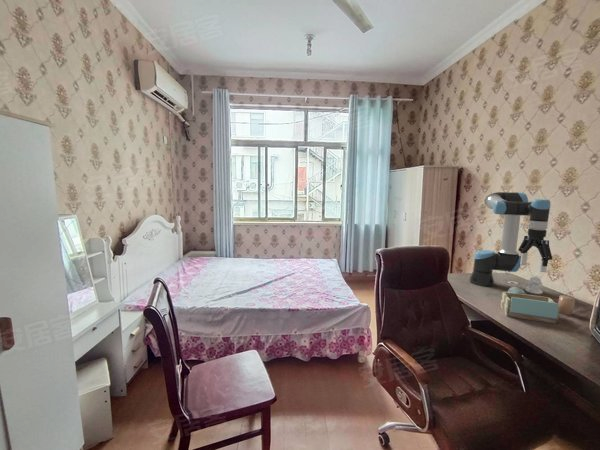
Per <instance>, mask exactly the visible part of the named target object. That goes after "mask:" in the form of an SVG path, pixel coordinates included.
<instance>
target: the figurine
mask: <svg viewBox="0 0 600 450" xmlns="http://www.w3.org/2000/svg"><path fill="white" fill-rule="evenodd" d="M526 283H527V284H526V286H527V287H526V288H525V291H526V292H528V293H531V294H535V295H542V294H543V291H542V290H541V289H542V288H543V287H544V284H543V282H542V279H541V278H540V275H534V276H531V278H529V280H526Z"/></svg>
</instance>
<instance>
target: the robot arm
mask: <svg viewBox="0 0 600 450" xmlns="http://www.w3.org/2000/svg"><path fill="white" fill-rule="evenodd" d="M484 204H485V206H486V207H487V208H489V209H492V212H493V214H494V215H500V216H501V215H504V220H503V227H502V228H503V229H502V237H501V246H500V249H499V250H497V253H496V252H495V251H494V250H487V249H485V250H483V249H482V250H477V251H476V252H475V253H474V258H473V259H474V261H473V269H472V272H471V275H470V277H469V280H468V281H469V282H470V283H471V284H473V285H475V286H480V287H481V286H482V287H494V286H495V278H494V276H493V272H494V271H501V272H508V273H516V272H518V271H519V270H520V268H521V267H522V266H527V260H528V251H530V249H532V247H535V248H536V249H537V250H538V252H539V254H540V257H541V259H540V263H539V273H546V272H547V267H548V265H549V261H551V260H553V256H552V251H551V247H550V240H548V239H546V240H545V238H546V237H547V229H548V225H549V216H550V210H551V200H550V199H542V198H537V199H536V198H534V199H532V200H531V201H529V198H528V196H527V194H526V193H524V192H517V191H516V192H513V191H512V192H509V191H505V192H502V191H496V192H493V193H490V194H489V195H487V196H486V197H485V199H484ZM521 216H525V217H528V216H529V222H528V223H529V224H528V230H527V235H524V237H523V240H522V242H521V243H520V246H519V247H518V239H519V233H520V232H519V229H520V222H521ZM517 247H518V251H517ZM519 252H520V255H519Z"/></svg>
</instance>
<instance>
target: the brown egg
mask: <svg viewBox="0 0 600 450" xmlns="http://www.w3.org/2000/svg"><path fill="white" fill-rule="evenodd" d="M575 302H576V298H574V297H572V296H568V295H564V294H563V295H559V298H558V302H557V303H558V304H559V307H560V313H559V315H560V314H561V315H564V316H570V317H571V316H573V314H574V310H575V309H574V308H575Z"/></svg>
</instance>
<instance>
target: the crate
mask: <svg viewBox="0 0 600 450" xmlns="http://www.w3.org/2000/svg"><path fill="white" fill-rule="evenodd" d="M511 297H516V298H523V299H530V300H538V301H545V302H553V303H556V302H555V301H554V300H553V299H552V298H551V297H549V296H541V295H534V294H533V295H532V294H527V293H526V294H519V293H511V292H508V291H501V296H500V306H499V307H501V309H502V311H503V313H504V315H505V316H506V317H511V318H517V319H523V320H530V321H536V322H542V323H549V324H555V325H558V324H559V318H560V307H559V306H558V314H557V320H553V319H546V318H539V317H533V316H526V315H520V314H513V313H510V307H511Z"/></svg>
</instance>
